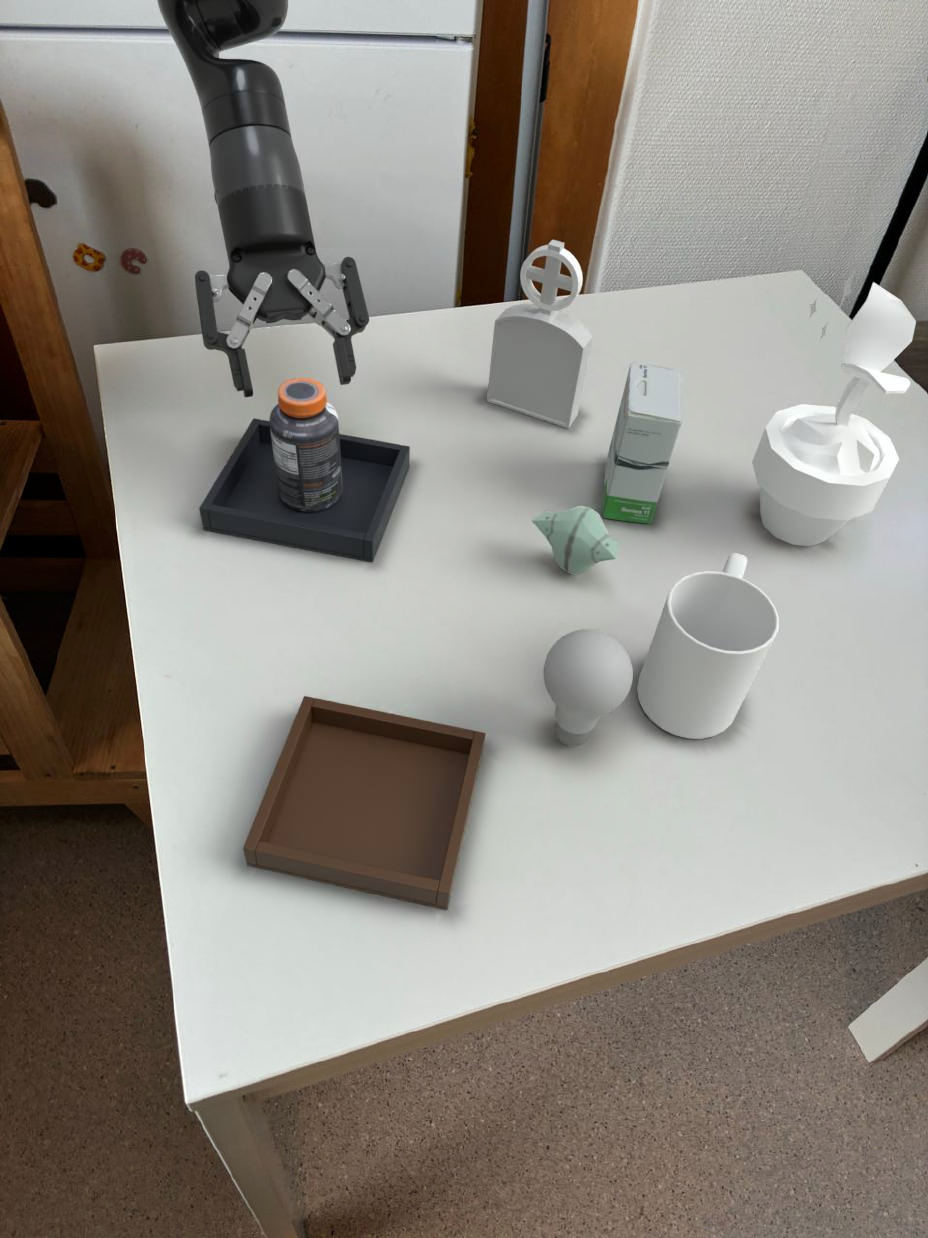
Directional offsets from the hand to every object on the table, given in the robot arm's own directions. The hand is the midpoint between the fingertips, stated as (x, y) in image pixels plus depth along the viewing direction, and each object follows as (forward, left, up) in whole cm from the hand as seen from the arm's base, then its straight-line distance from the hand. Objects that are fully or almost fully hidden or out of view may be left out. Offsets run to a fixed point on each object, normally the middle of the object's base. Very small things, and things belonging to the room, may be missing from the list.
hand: (298, 389), depth 79 cm
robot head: (+26, -6, -10) cm, 29 cm away
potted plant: (+46, +5, -10) cm, 48 cm away
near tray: (+15, -33, -10) cm, 38 cm away
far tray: (+1, -3, -10) cm, 10 cm away
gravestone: (+19, +17, -10) cm, 28 cm away
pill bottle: (+1, -3, -10) cm, 10 cm away
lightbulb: (+28, -24, -10) cm, 38 cm away
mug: (+37, -16, -10) cm, 42 cm away
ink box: (+31, +6, -10) cm, 33 cm away
